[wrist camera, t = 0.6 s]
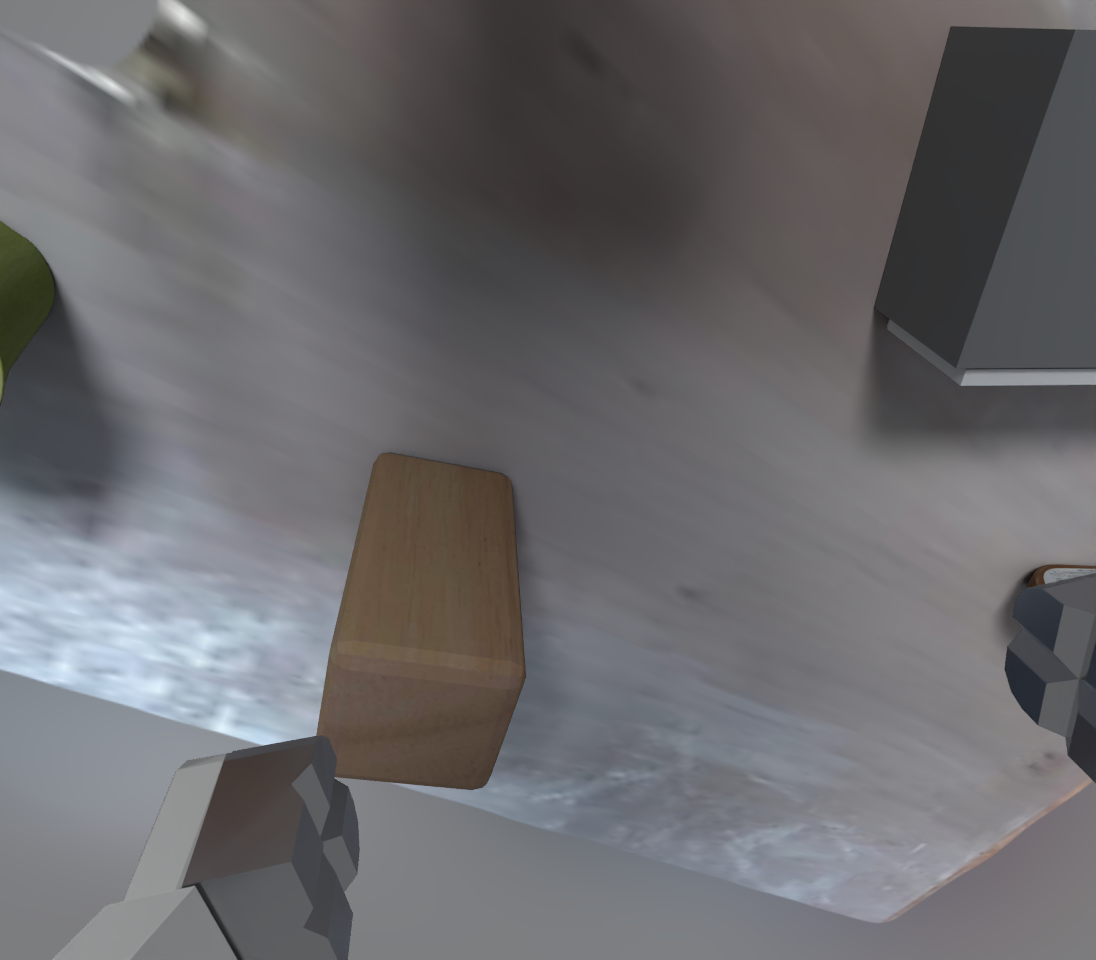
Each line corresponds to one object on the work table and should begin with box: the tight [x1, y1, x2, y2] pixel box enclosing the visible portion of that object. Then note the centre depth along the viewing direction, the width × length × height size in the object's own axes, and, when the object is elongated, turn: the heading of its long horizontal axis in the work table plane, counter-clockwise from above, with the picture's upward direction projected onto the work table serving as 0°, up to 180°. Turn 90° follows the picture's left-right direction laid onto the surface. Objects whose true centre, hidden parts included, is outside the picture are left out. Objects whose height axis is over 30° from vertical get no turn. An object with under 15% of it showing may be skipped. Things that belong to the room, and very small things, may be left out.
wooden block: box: [316, 453, 526, 790], centre depth 47 cm, size 10×10×20 cm
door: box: [887, 319, 1096, 386], centre depth 46 cm, size 2×18×9 cm, turn 88°
